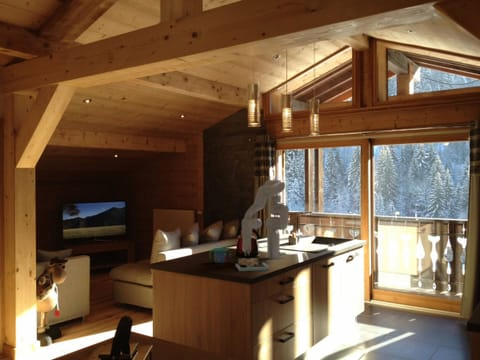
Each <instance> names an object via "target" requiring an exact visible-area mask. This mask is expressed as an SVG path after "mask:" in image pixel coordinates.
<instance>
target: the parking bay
mask: <svg viewBox="0 0 480 360" xmlns="http://www.w3.org/2000/svg"><path fill="white" fill-rule="evenodd" d="M261 265H262V266H254V267H252V268H248V267H241V265H238V263H235V268H236V270H238V272H257V271H258V272H259V271H270V267H269V265H268V264H266V263H265V262H262V263H261Z"/></svg>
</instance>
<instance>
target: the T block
mask: <svg viewBox="0 0 480 360" xmlns="http://www.w3.org/2000/svg"><path fill="white" fill-rule="evenodd" d="M237 264H238V265H239V266H246V268H252V267H255V265H257V266H258V265H259V258H258V257H249V258H245V257H244V258H237Z"/></svg>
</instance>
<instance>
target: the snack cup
mask: <svg viewBox="0 0 480 360" xmlns="http://www.w3.org/2000/svg"><path fill="white" fill-rule="evenodd" d="M227 252H228V253H229V258H231V256H232V254H231V250H230V249H228V248H227V247H214V248H212V249H211V250H210V251H209V259H211V253H213V256H214V257H213V258H214V263H216V264H225V263H226V260H227V259H226V258H227Z"/></svg>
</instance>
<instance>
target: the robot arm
mask: <svg viewBox="0 0 480 360" xmlns="http://www.w3.org/2000/svg"><path fill="white" fill-rule="evenodd" d="M285 189H286V184H285V182H284V180H279V179H277V180H276V179H275V180H274V179H270V180H266V181H265V182H264V185H261V186H259V187H258V189H257V193H256V196H255V199H254V203H253V204H252V205H251V206H250V207H249V208H248V209H247V211H246V212H245V213H244V217H243V219H242V220H241V239H242V249H241V250H242V251H243V252H244V258H250V253H251V252H252V241H251V240H252V238H253V229H254V230H255V229H256V230H257V229H260V228H261V227H262V225H263V222H262V220H261V219H260V218H257V217H256V218H255V217H253V216H254V215H255V214H256V213H257V212H259V211H261V210H263V209H265V207H266V204H267V201H268V198H269V206H268V212H269V214H270V215H272V216H269V217H267V218H266V219H265V227H266V236H267V237H266V242H267V244H266V248H267V249H266V252H267V253H266V255H265V258H266V259H269V260H270V259H271V260H276V259H277V260H279V259H282V257H283V256H286V254H287V253H286V252H281V251H280V249H281V247H280V242H281V241H280V239H281V238H280V232H279V231H280V230H281V231H284V230H286V229H287V227H288V223H289V213H290V211H289V209H290V208H289V206H288V204H286V203H283V202H282V197H281V193H282V192H284V190H285Z"/></svg>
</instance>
